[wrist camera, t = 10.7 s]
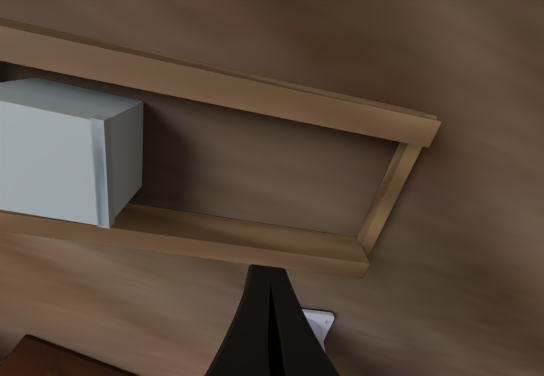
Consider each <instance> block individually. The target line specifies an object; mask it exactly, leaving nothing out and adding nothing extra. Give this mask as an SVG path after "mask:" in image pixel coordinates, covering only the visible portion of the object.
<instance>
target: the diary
mask: <svg viewBox="0 0 544 376" xmlns="http://www.w3.org/2000/svg"><path fill="white" fill-rule="evenodd" d="M0 376H135V375H132V374H130V373H127V372H124V371H122V370H119V369H116V368H114V367H111V366H108V365H106V364H103V363H100V362H98V361H95V360H92V359H89V358H87V357H84V356H81V355H79V354H76V353H73V352H71V351H68V350H65V349H63V348H60V347H57V346H55V345H52V344H49V343H47V342H44V341H41V340H39V339H36V338H33V337H31V336H28V335H25V336H24V337H23V338H22V339H21V341H20V342H19V343H18V344H17V345H16V347H15V348H14V349H13V350H12V352H11V353H10V354H9V355H8V357H7V358H6V359H5V360H4V361H3V363H2V364H1V365H0Z"/></svg>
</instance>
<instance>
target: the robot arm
mask: <svg viewBox="0 0 544 376" xmlns="http://www.w3.org/2000/svg"><path fill="white" fill-rule="evenodd" d="M333 320H334V314H333V313H331V312H324V311H315V310H306V309H302V308H301V306H300V304H299V302H298V299H297V297H296V295H295V293H294V290H293V288H292V286H291V283H290V281H289V278H288V275H287V272H286V270H285V269H284V268H279V267H271V266H263V265H255V264H252V265H250V266H249V268H248V273H247V278H246V283H245V287H244V292H243V296H242V298H241V301H240V304H239V306H238V309H237V312H236V314H235V316H234V319H233V321H232V323H231V325H230V327H229V330H228V332H227V334H226V336H225V338H224V340H223V342H222V344H221V346H220V348H219V350H218V352H217V354H216V356H215V358H214V360H213V361H212V363H211V365H210V367H209V369H208V370H207V372H206V374H205V376H340V375H339V374H338V372H337V371H336V369H335V368H334V366H333V365H332V363H331V361H330V360H329V358H328V356H327V355H326V353H325V348H324V343H323V341H324V339H325V337H326V335H327V333H328V331H329V329H330V327H331V324H332V322H333Z"/></svg>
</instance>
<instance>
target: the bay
mask: <svg viewBox="0 0 544 376" xmlns="http://www.w3.org/2000/svg"><path fill="white" fill-rule="evenodd" d="M0 61H4V62H9V63H14V64H19V65H24V66H29V67H34V68H39V69H44V70H48V71H53V72H58V73H63V74H68V75H73V76H78V77H83V78H88V79H93V80H98V81H103V82H108V83H113V84H117V85H122V86H127V87H132V88H137V89H142V90H147V91H152V92H157V93H162V94H167V95H172V96H177V97H181V98H186V99H191V100H196V101H201V102H206V103H211V104H216V105H221V106H226V107H231V108H236V109H241V110H246V111H250V112H255V113H260V114H265V115H270V116H275V117H280V118H285V119H290V120H295V121H300V122H305V123H310V124H315V125H319V126H324V127H329V128H334V129H339V130H344V131H349V132H354V133H359V134H364V135H369V136H374V137H379V138H384V139H388V140H393V141H398V142H400V143H399V145H398V147H397V149H396V152H395V154H394V156H393V158H392V161H391V163H390V165H389V167H388V170H387V172H386V174H385V176H384V178H383V181H382V183H381V185H380V187H379V190H378V192H377V194H376V196H375V199H374V201H373V203H372V205H371V207H370V210H369V212H368V214H367V216H366V219H365V221H364V223H363V225H362V227H361V230H360V232H359V234H358V236H357V237H351V236H344V235H337V234H331V233H324V232H317V231H311V230H304V229H298V228H291V227H284V226H278V225H271V224H265V223H258V222H251V221H245V220H238V219H231V218H225V217H218V216H212V215H205V214H198V213H192V212H185V211H179V210H172V209H165V208H159V207H152V206H145V205H139V204H132V203H127V204H126V205H125V207H124V208H123V209H122V210H121V211H120V213H119V214H118V215H117V216H116V217H115V218H114V224H113V225H112V226H111V227H110V228H109V229H108V228H102V227H98V225H92V224H86V223H80V222H74V221H68V220H62V219H55V218H49V217H43V216H37V215H31V214H25V213H19V212H13V211H6V210H0V231H3V232H10V233H18V234H26V235H33V236H41V237H49V238H56V239H64V240H71V241H79V242H87V243H94V244H102V245H110V246H117V247H125V248H132V249H140V250H148V251H155V252H163V253H171V254H178V255H186V256H193V257H201V258H209V259H216V260H224V261H232V262H239V263H247V264H255V265H263V266H271V267H279V268H285V269H293V270H300V271H308V272H316V273H323V274H331V275H338V276H346V277H354V278H361V279H363V277H364V275H365V273H366V271H367V269H368V267H369V265H370V263H369V261H368V259H367V258H368V256H369V254H370V252H371V250H372V248H373V246H374V244H375V242H376V240H377V238H378V236H379V234H380V232H381V230H382V228H383V226H384V224H385V222H386V220H387V217H388V215H389V213H390V211H391V209H392V207H393V205H394V203H395V201H396V199H397V197H398V195H399V193H400V191H401V189H402V187H403V185H404V183H405V181H406V179H407V177H408V175H409V173H410V171H411V169H412V167H413V165H414V163H415V161H416V159H417V157H418V155H419V153H420V151H421V149H422V147H428V148H429V146H430V144H431V142H432V140H433V138H434V136H435V134H436V132H437V130H438V128H439V126H440V125H441V123H442V122H441V121H439V120H436V118H437V116H435V115H432V114H430V113H426V112H422V111H417V110H413V109H408V108H404V107H399V106H395V105H390V104H386V103H381V102H377V101H372V100H368V99H363V98H359V97H354V96H349V95H345V94H340V93H336V92H331V91H327V90H322V89H318V88H313V87H309V86H304V85H300V84H295V83H291V82H286V81H282V80H277V79H273V78H268V77H263V76H259V75H254V74H250V73H245V72H241V71H236V70H232V69H227V68H223V67H218V66H214V65H209V64H205V63H200V62H196V61H191V60H186V59H182V58H177V57H173V56H168V55H164V54H159V53H155V52H150V51H146V50H141V49H137V48H132V47H128V46H123V45H119V44H114V43H109V42H105V41H100V40H96V39H91V38H87V37H82V36H78V35H73V34H69V33H64V32H60V31H55V30H51V29H46V28H42V27H37V26H32V25H28V24H23V23H19V22H14V21H10V20H5V19H1V18H0Z"/></svg>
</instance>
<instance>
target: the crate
mask: <svg viewBox="0 0 544 376" xmlns="http://www.w3.org/2000/svg"><path fill="white" fill-rule="evenodd" d="M142 155H143V101H139V100H134V99H130V98H126V97H121V96H117V95H112V94H108V93H104V92H99V91H95V90H91V89H86V88H82V87H77V86H73V85H69V84H64V83H60V82H56V81H51V80H47V79H42V78H38V77H34V78H28V79H21V80H15V81H8V82H2V83H0V210H6V211H13V212H19V213H25V214H31V215H37V216H43V217H49V218H55V219H62V220H68V221H74V222H80V223H86V224H92V225H98V227H102V228H108V229H109V228H110V227H111V226H112V225H113V224H114V218H115V217H116V216H117V215H118V214H119V213H120V211H121V210H122V209H123V208H124V207H125V205H126V204H127V203H128V202H129V201H130V199H131V198H132V197H133V196H134V195H135V194H136V192H137V191H138V190H139V189H140V188H141V186H142Z"/></svg>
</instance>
